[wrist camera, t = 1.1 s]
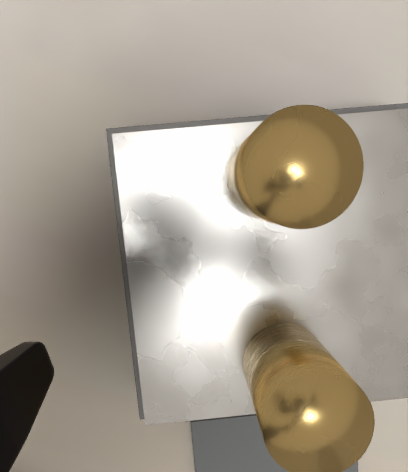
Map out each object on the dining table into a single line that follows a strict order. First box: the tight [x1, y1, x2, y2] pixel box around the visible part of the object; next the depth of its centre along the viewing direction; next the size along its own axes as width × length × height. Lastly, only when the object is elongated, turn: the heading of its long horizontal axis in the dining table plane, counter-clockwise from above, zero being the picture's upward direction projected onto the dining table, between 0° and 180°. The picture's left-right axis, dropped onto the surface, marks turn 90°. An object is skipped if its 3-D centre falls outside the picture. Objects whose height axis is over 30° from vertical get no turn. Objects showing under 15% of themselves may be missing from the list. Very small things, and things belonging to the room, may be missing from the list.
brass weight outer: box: [227, 105, 364, 229], centre depth 15 cm, size 4×4×5 cm
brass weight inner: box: [243, 323, 374, 472], centre depth 16 cm, size 4×4×5 cm
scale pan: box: [112, 108, 408, 425], centre depth 18 cm, size 14×14×1 cm
